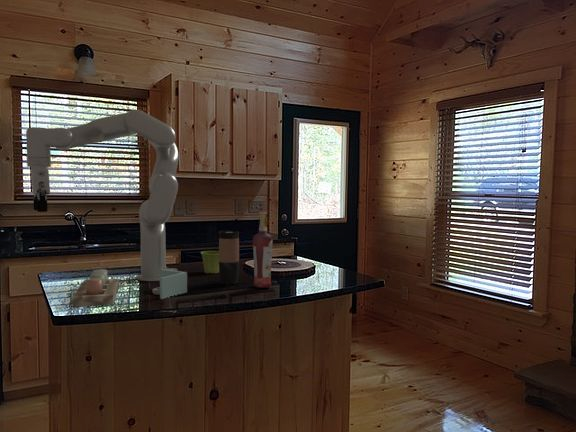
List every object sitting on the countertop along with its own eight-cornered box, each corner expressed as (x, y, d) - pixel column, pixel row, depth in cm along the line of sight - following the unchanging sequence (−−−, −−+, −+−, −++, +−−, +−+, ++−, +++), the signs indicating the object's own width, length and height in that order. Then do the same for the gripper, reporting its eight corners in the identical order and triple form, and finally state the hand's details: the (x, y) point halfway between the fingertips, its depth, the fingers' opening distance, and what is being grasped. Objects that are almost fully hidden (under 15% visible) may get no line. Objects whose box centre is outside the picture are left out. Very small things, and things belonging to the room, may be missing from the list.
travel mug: (242, 282, 189) (242, 231, 188) (232, 286, 182) (232, 232, 181) (225, 280, 192) (225, 229, 191) (214, 284, 186) (214, 231, 184)
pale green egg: (105, 287, 168) (105, 273, 167) (104, 290, 163) (104, 276, 163) (90, 288, 166) (90, 273, 166) (89, 291, 162) (88, 276, 161)
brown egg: (103, 293, 160) (103, 277, 160) (101, 296, 155) (101, 280, 155) (87, 293, 159) (87, 278, 158) (85, 297, 154) (85, 281, 154)
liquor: (268, 290, 176) (269, 212, 174) (249, 288, 178) (249, 212, 176) (274, 286, 183) (275, 211, 181) (256, 284, 185) (257, 211, 183)
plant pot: (213, 269, 215) (213, 250, 214) (227, 272, 209) (227, 252, 208) (196, 272, 208) (196, 252, 208) (209, 275, 202) (209, 254, 201)
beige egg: (108, 282, 175) (107, 269, 175) (106, 285, 171) (106, 271, 170) (93, 283, 174) (93, 269, 174) (92, 286, 170) (91, 272, 169)
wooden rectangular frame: (119, 286, 179) (119, 278, 179) (113, 304, 154) (113, 295, 154) (84, 288, 176) (83, 280, 176) (72, 306, 151) (71, 297, 151)
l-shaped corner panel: (162, 289, 178) (161, 268, 178) (187, 293, 172) (186, 272, 172) (136, 295, 168) (136, 274, 167) (162, 300, 162) (162, 278, 161)
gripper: (54, 162, 168) (55, 212, 170) (47, 163, 183) (48, 209, 184) (29, 162, 164) (31, 212, 165) (24, 163, 178) (26, 209, 180)
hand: (40, 210), depth 175 cm, fingers open, 9 cm apart
